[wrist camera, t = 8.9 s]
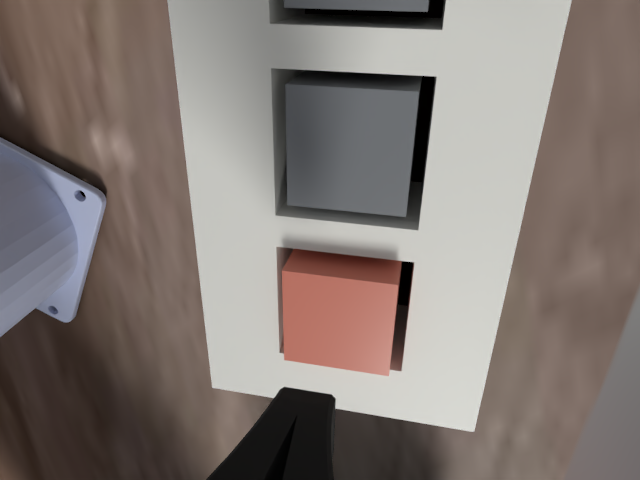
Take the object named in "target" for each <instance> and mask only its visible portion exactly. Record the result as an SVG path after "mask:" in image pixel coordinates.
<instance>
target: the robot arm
mask: <svg viewBox="0 0 640 480" xmlns="http://www.w3.org/2000/svg"><path fill="white" fill-rule="evenodd" d="M80 191H82V192H83V193H84V194H85V196H86V198H85V197H83V196H82V195H81V193H80ZM105 206H106V198H105V195H104V194H103V193H102V191H100V190H99V189H97V188H95V187H94V186H92V185H90V184H88V183H86V182H84V181H82V180H80V179H78V178H77V177H75V176H73V175H71V174H69V173H67V172H65V171H63V170H61V169H60V168H58V167H56V166H54V165H52V164H50V163H48V162H46V161H44V160H42V159H41V158H39V157H37V156H35V155H33V154H31V153H29V152H27V151H25V150H24V149H22V148H20V147H18V146H16V145H14V144H12V143H10V142H8V141H7V140H5V139H3V138H1V137H0V337H1V336H2V335H3V334H5V333H6V332H7V331H8V330H9V329H11V328H12V327H13V326H14V325H15V324H17V323H18V322H19V321H20V320H22V319H23V318H24V317H25V316H26V315H28V314H29V313H30V312H31V311H32V310H34V309H35V308H36V309H38V310H40V311H42V312H44V313H46V314H48V315H50V316H52V317H54V318H56V319H58V320H60V321H62V322H70V321H72V320H73V319H74V318H75V316H76V313H77V310H78V306H79V302H80V299H81V295H82V291H83V287H84V284H85V280H86V276H87V273H88V269H89V265H90V262H91V258H92V254H93V251H94V247H95V243H96V239H97V236H98V232H99V228H100V225H101V221H102V217H103V214H104V210H105ZM335 404H336V398H335V397H334V396H333V395H332V394H326V393H320V392H314V391H307V390H301V389H295V388H289V387H283V388H281V389H280V390H279V392H278V393H277V395H276V396H275V398H274V399H273V400H272V402H271V403H270V405H269V406H268V407H267V409H266V410H265V411H264V413H263V414H262V415H261V417H260V418H259V419H258V421H257V422H256V423H255V424H254V426H253V427H252V428H251V430H250V431H249V432H248V433H247V434H246V436H245V437H244V438H243V439H242V440H241V442H240V443H239V444H238V445H237V446H236V447H235V449H234V450H233V451H232V452H231V453H230V454H229V456H228V457H227V458H226V459H225V460H224V461H223V462H222V463H221V464H220V465H219V466H218V467H217V468H216V470H215V471H214V472H213V473H212V474H211V475H210V476H209V477H208V478H207V479H206V480H334V478H333V465H332V457H333V450H334V429H335Z"/></svg>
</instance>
